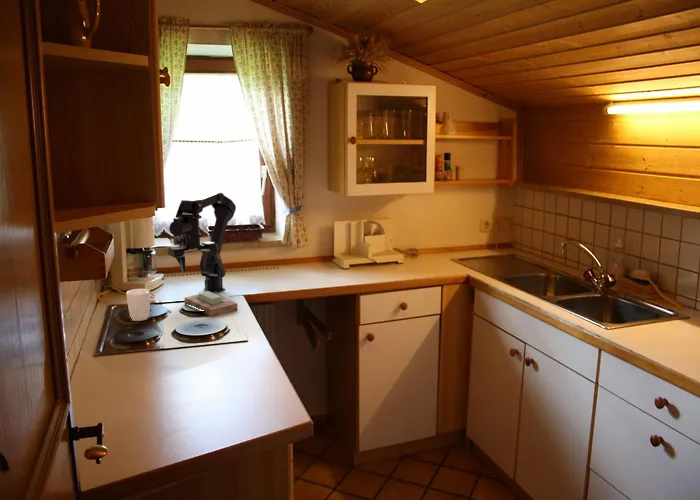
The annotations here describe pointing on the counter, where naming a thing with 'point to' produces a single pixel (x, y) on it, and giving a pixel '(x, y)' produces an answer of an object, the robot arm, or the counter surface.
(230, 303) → the brown wooden flat block
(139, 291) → the white cup
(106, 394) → the counter surface
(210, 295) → the peg
